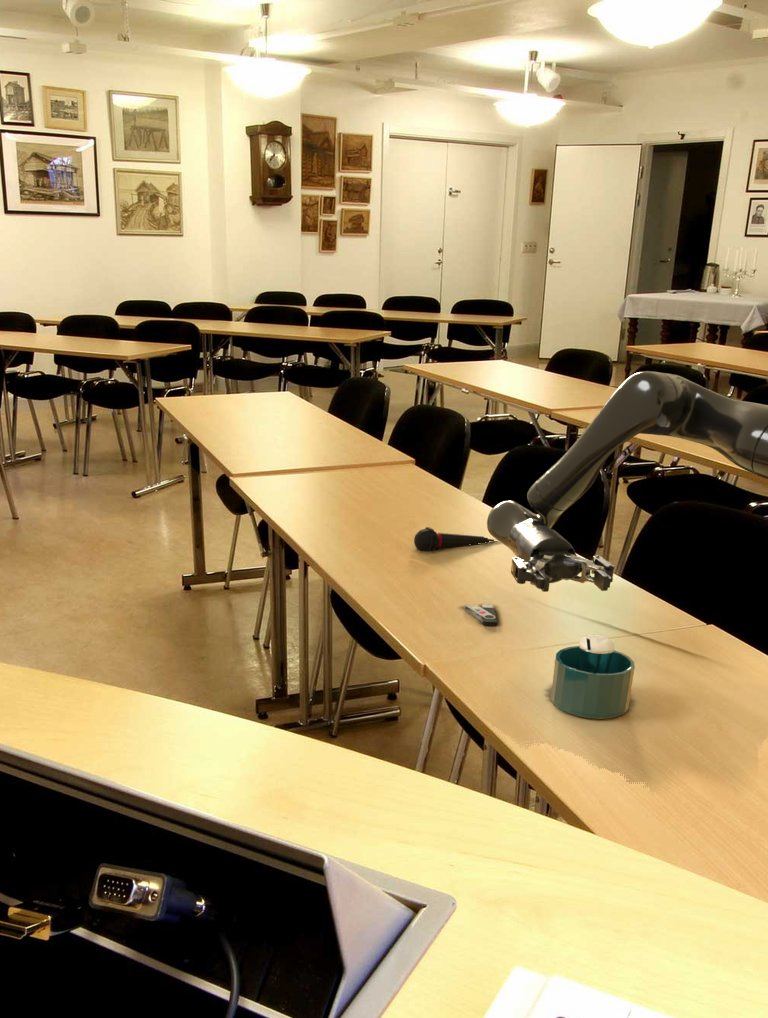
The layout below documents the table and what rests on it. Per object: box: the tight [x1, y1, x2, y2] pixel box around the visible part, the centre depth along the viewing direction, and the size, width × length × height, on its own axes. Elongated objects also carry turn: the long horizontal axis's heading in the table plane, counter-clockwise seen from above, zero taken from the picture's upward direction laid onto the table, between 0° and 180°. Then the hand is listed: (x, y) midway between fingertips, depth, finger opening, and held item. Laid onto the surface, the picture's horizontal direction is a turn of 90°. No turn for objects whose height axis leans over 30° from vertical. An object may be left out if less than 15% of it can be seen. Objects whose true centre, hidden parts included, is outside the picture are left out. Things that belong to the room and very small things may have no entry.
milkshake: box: [578, 634, 616, 674], centre depth 126 cm, size 4×5×10 cm
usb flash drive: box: [463, 603, 498, 627], centre depth 159 cm, size 9×5×1 cm, turn 168°
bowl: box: [550, 645, 636, 720], centre depth 126 cm, size 10×10×6 cm
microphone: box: [413, 526, 495, 553], centre depth 197 cm, size 6×6×20 cm
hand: (576, 585), depth 132 cm, fingers open, 8 cm apart
